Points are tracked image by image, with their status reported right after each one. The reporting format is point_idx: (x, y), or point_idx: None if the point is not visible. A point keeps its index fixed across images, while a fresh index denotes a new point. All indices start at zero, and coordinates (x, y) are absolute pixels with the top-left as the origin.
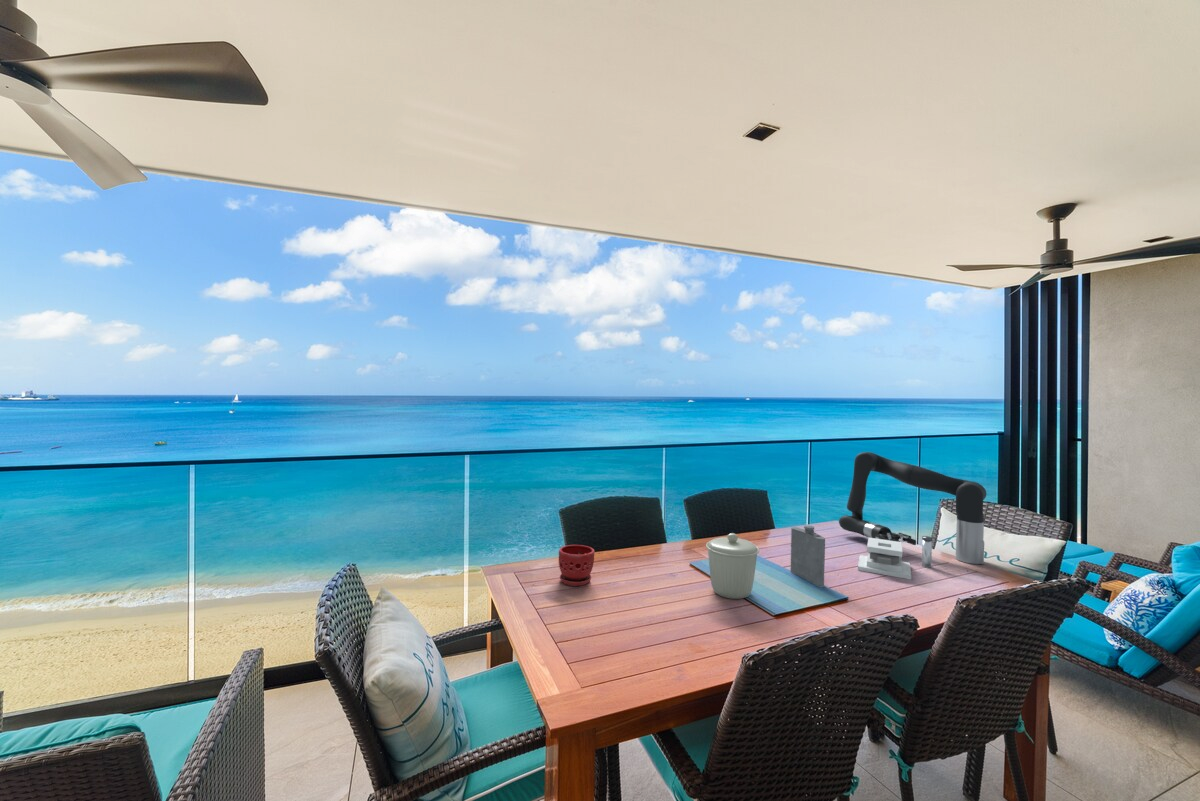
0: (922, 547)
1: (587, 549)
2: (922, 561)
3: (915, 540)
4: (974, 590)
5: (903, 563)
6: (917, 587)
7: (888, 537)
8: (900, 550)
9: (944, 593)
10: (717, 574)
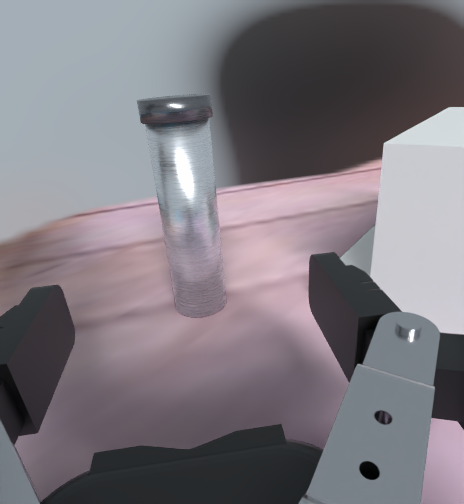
0: (210, 188)
1: None
2: (223, 277)
3: (42, 287)
4: (230, 191)
5: (369, 272)
6: None
7: (423, 365)
8: (455, 109)
9: (337, 180)
10: None
